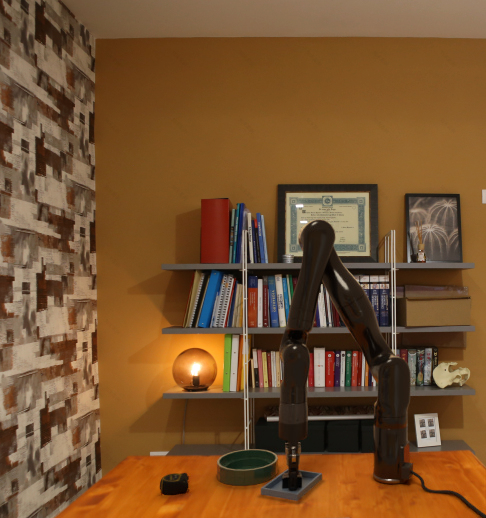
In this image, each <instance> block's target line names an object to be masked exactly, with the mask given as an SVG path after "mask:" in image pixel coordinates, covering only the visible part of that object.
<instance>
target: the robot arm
mask: <svg viewBox="0 0 486 518" xmlns="http://www.w3.org/2000/svg"><path fill="white" fill-rule="evenodd" d="M336 239H337V236H336V231H335V228H334V227H333V225H332V224H331V223H330V222H329V221H327V220H325V219H322V218H321V219H319V218H318V219H314V220H311V221H309V222H307V223H306V224H304V225H303V226H302V227H301V228H300V230H299V232H298V236H297V241H298V245H299V247H300V249H301V251H302V258H301V260H302V261H301V265H300V270H299V275H298V278H297V282H296V284H295V286H294V291H293V294H292V297H291V301H290V305H289V309H288V315H287V321H286V326H285V329H284V332H283V335H282V338H281V341H280V345H279V351H278V357H279V360H280V362H281V363H282V365H283V369H282V370H283V373H282V380H281V382H280V386H279V387H280V389H279V406H278V438H279V439H280V440H282V441H286V442H285V443H284V444H285V445H284V450H285V451H284V453H285V460H286V461H285V463H286V467H287V469H288V476H289V480H288V489H289V490H290V491H293V490H297V475H298V474H299V472H298V470H299V466H300V465H301V453H302V446H301V442H299V441H301V440H305V439H307V437H308V436H309V406H308V380H309V375H310V368H311V353H310V351H309V348H308V347H307V342H308V338H309V334H310V333H311V332H312V330H313V328H314V325H315V320H316V315H317V309H318V305H319V299H320V293H321V287H322V284H323V286H324V288H325V290H326V293H327V295H328V296H329V298H330V300H331V302H332V304H333V306H334V308H335V310H336V312H337V313H338V315H339V317H340V319H341V321H342V323H343V324H344V326H345V327H346V329H347V330H348V332H349V333H350V335H351V336H352V338H353V340H354V341H355V342H356V344H357V345H358V347H359V349H360V351H361V353H362V355H363V357H364V360H365V362H366V365H367V367H368V369H369V372H370V374H371V376H372V378H373V380H374V381H375V382H376V383H377V399H376V401H375V402H374V403H373V473H372V476H373V480H375V481H377V482H379V483H382V484H390V485H394V484H395V485H396V484H405V483H406V482H407V481H409V480H410V479H411V478H412V476H414V477H416V478H417V479H418V480H419V481H420V485H421V488H422V489H423V490H424V491H425V492H427V493H430V494H431V493H432V494H443V495H444V494H447V495H453V496H455V497H458V498H459V499H461V501H462V502H463V503H465V504H466V506H467V507H469V508H470V509H472V510H473V511H474V512H475V513H476V514H478V515H479V516H480V517H482V518H486V513H484V512H483V511H482V510H480V509H478V508H477V507H476V506H475V505H473V504H472V503H471V502H469V500H467V498H466V497H464V496H463V495H462V494H460V493H459V492H457V491H454V490H449V489H439V490H436V489H430V488H428V487H427V486H426V485H425V479H424V478H423V477H422V476H421V475H420V474H418V473H417V472H415V471H414V463H413V462H410V455H411V454H410V449H411V448H410V447H411V446H410V445H411V444H410V443H411V442H410V440H408V409H409V406H410V403H411V385H412V384H411V383H412V380H411V379H412V376H411V375H412V374H411V368H410V365H409V363H408V362H407V361H406V360H405V359H404V358H403V357H400V356H398V355H396V354H395V353H394V352H393V350H392V349H391V348H390V346H389V344H388V343H387V341H386V340H385V338H384V336H383V334H382V332H381V329H380V326H379V325H380V324H379V320H378V318H377V317H378V316H377V314H376V311H375V309H374V306H373V303H372V302H371V300H370V299H369V297H368V295H367V293H366V291H365V290H364V288H363V287H362V285H361V284H360V282H359V281H358V280H357V278H355V277H354V275H353V274H352V273H351V272H350V271H349V269H348V268H347V267H346V266H345V265H344V263H343V262H342V260H341V258H340V257H339V254H338V253H337V250H336V249H335V246H334V245H335V242H336Z"/></svg>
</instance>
